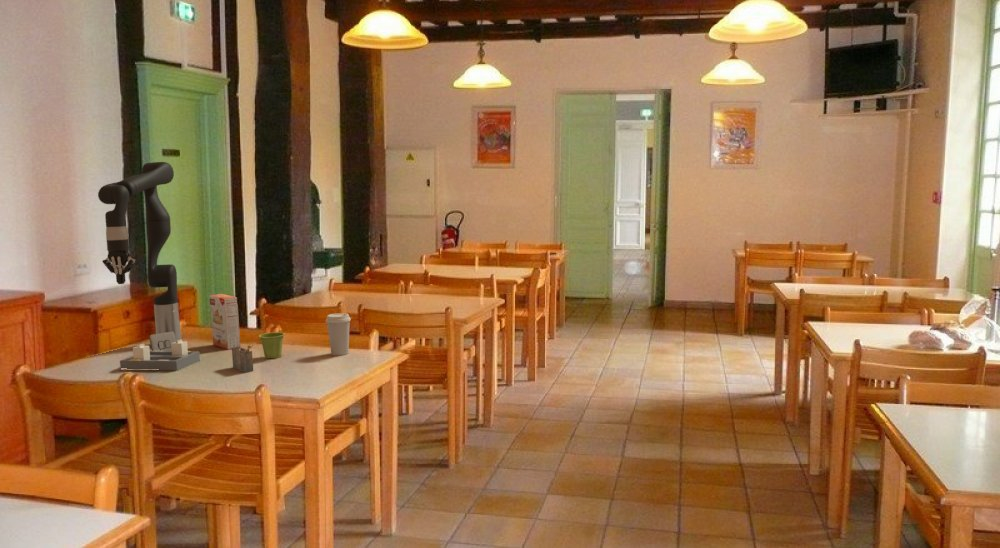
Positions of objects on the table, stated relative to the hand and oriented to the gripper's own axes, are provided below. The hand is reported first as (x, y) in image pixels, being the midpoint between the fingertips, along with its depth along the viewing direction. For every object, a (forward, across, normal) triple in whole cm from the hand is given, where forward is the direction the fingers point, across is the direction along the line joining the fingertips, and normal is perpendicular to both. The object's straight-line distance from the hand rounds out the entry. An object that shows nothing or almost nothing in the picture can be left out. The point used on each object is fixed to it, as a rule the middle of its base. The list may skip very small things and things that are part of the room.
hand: (121, 283), depth 313 cm
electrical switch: (+29, -12, -5) cm, 32 cm away
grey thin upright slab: (+30, -54, +14) cm, 64 cm away
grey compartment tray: (+29, -20, +10) cm, 37 cm away
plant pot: (+29, -57, -5) cm, 64 cm away
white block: (+27, -25, +6) cm, 38 cm away
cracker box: (+29, -29, -23) cm, 47 cm away
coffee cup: (+29, -81, -12) cm, 87 cm away
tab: (+27, -15, +14) cm, 34 cm away
